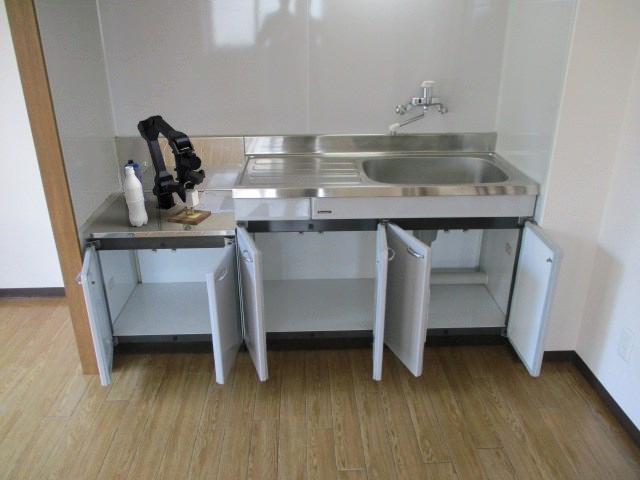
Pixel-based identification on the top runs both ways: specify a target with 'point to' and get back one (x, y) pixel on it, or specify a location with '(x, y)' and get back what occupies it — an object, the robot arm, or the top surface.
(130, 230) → the top surface
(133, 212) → the water bottle
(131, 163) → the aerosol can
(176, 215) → the board
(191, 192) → the block
